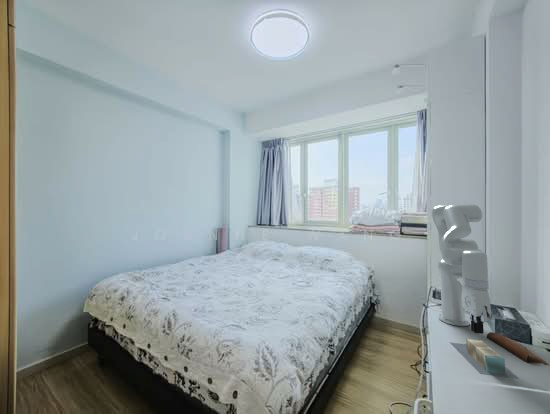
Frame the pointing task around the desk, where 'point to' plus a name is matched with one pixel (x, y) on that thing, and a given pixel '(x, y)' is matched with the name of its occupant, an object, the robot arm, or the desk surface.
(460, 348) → the charcoal mat
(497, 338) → the sunglasses case
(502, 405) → the desk surface
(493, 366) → the wooden block
